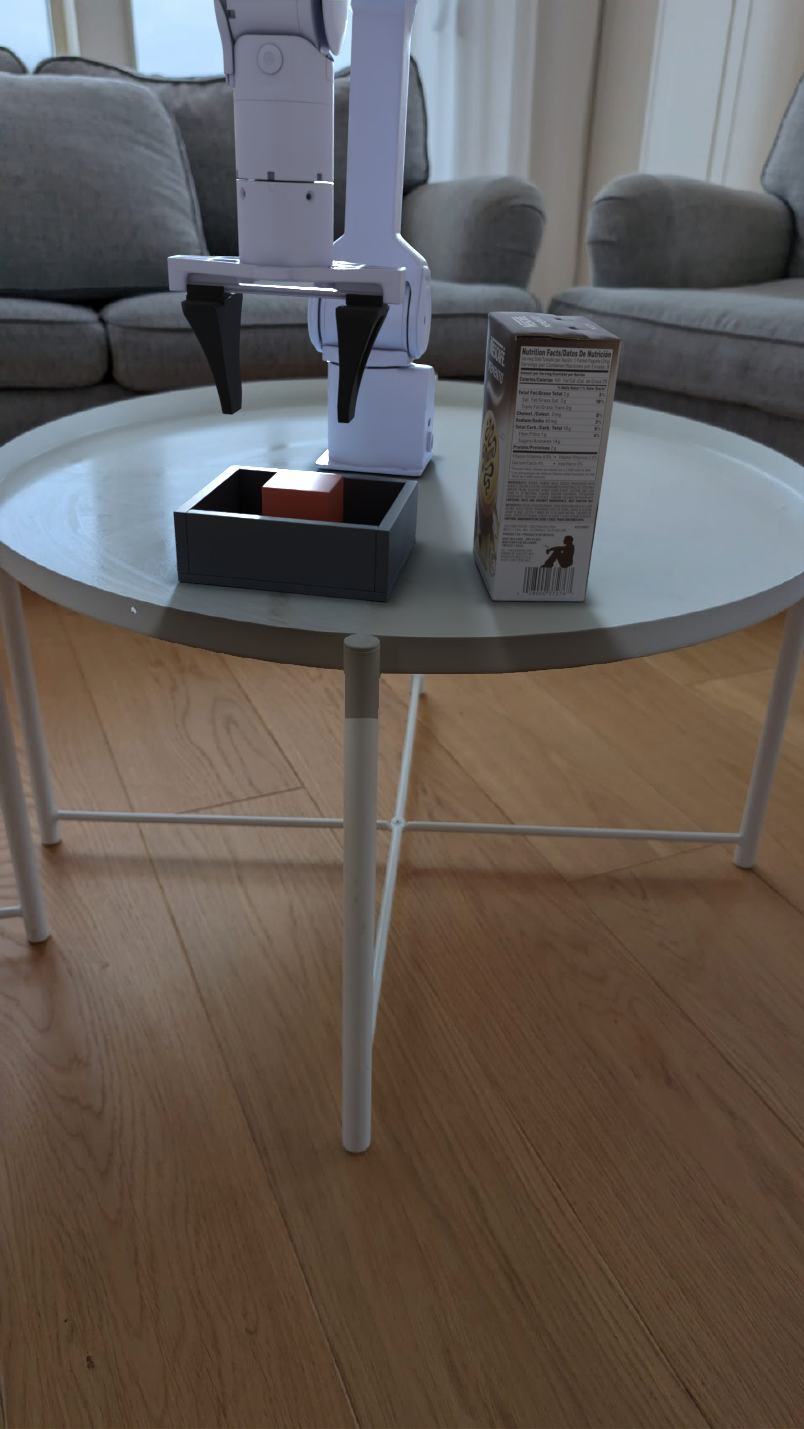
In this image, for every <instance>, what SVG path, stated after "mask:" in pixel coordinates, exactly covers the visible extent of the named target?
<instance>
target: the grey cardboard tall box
mask: <svg viewBox="0 0 804 1429" xmlns="http://www.w3.org/2000/svg"><path fill="white" fill-rule="evenodd" d="M487 317H488V318H487V319H488V321H487V322H488V323H487V334H486V335H487V337H486V350H485V351H486V352H485V364H484V380H483V394H482V410H481V425H480V437H479V438H480V442H479V452H478V453H479V455H478V469H477V481H476V482H477V483H476V496H475V497H476V499H475V509H474V510H475V511H474V525H473V539H472V540H473V541H472V555H473V558H474V561H475V562H476V565H477V567H478V569H479V572H480V575H481V577H482V580H483V581H484V584H485V586H486V589H487V592H488V593H489V597H490V598H491V600H492V601H499V602H500V601H502V602H505V601H506V602H512V601H513V602H584V601H586V597H587V593H588V592H587V590H588V583H589V577H590V576H589V575H590V568H591V561H592V554H593V546H594V540H595V533H596V526H597V519H598V512H599V507H600V506H599V505H600V498H601V492H602V484H603V477H604V470H605V463H606V456H607V449H608V441H609V437H610V436H609V435H610V430H611V421H612V414H613V407H614V399H615V391H616V384H617V378H618V370H619V363H620V355H621V349H622V341H623V340H622V338H621V337H618V336H617V335H615V334H613V333H611V332H610V331H609V330H607V329H605V328H604V327H601V326H600V325H598V324H597V323H595V322H594V321H591V320H590V319H589V318H586V317H585V316H584V315H555V314H552V313H540V312H527V311H490V312H488V314H487Z"/></svg>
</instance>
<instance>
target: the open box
mask: <svg viewBox="0 0 804 1429" xmlns="http://www.w3.org/2000/svg"><path fill="white" fill-rule="evenodd" d="M279 470H283V469H280V468H269V467H257V466H244V465H234V464H231V465H230V466H228V467H227V468H226V469H225V470H224V471H222V472H221V473H219V474H218V475H217V476H216V477H215V478H213V480H211V481H210V482H208V483H207V484H206V485H205V486H204V487H202V488H201V489H199V491H197V492H196V493H195V494H194V495H192V496H191V497H190V498H189V499H187V500H186V501H184V502H183V503H182V504H181V505H180V506H179V507H177V508H176V509H174V511H173V512H172V513H173V527H174V540H175V542H174V543H175V556H176V557H175V558H176V570H177V581H178V582H180V583H181V582H182V583H191V584H193V583H194V584H202V585H211V586H222V587H232V588H242V589H250V590H251V589H253V590H261V591H262V590H263V591H273V592H282V593H291V594H303V595H315V596H323V597H332V598H343V599H351V600H352V599H353V600H362V601H363V600H364V601H374V602H385V603H387V602H388V601H389V599H390V596H391V594H392V593H393V590H394V588H395V586H396V584H397V582H398V580H399V578H400V576H401V574H402V572H403V570H404V568H405V566H406V564H407V562H408V560H409V558H410V556H411V554H412V551H413V550H414V548H415V546H416V543H417V525H418V524H417V522H418V501H419V480H413V479H408V480H407V479H402V478H390V477H388V478H386V477H376V476H365V475H355V474H354V475H353V474H343V473H342V474H341V473H337V474H338V475H343V523H336V522H325V521H314V520H303V519H292V518H280V517H269V516H263V515H262V486H263V485H265V484H266V483H267V482H268V481H269V480H270V479H271V478H272V477H273V476H274V475H275V474H276V473H277V472H278V471H279ZM289 470H290V471H295V470H294V469H289ZM301 471H302V472H307V471H305V470H301ZM313 472H314V473H319V472H317V471H313ZM325 473H326V474H331V472H330V473H329V472H325Z"/></svg>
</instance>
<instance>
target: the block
mask: <svg viewBox="0 0 804 1429" xmlns="http://www.w3.org/2000/svg"><path fill="white" fill-rule="evenodd" d="M290 470H291V469H282V470H279V471H278V472H277V473H276V474H275V475H274V476H273V477H272V478H271V479H270V480H269V481H268V482H267V483H266V484H265V485H263V486H262V515H263V516H269V517H280V518H292V519H303V520H314V521H325V522H336V523H343V475H344V474H342V475H338V474H339V473H330V474H326V473H327V472H318V473H314V472H315V471H306V472H302V471H303V470H294V471H290Z"/></svg>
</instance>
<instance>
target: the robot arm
mask: <svg viewBox="0 0 804 1429" xmlns="http://www.w3.org/2000/svg"><path fill="white" fill-rule="evenodd" d="M418 4H419V0H213V7H214V14H215V20H216V25H217V29H218V33H219V37H220V42H221V47H222V48H221V49H222V60H223V61H222V62H223V74H224V76H225V84H226V86H227V87H231V88H232V95H233V124H234V151H235V152H234V153H235V178H236V206H237V207H236V209H237V233H238V234H237V236H238V237H237V238H238V239H237V241H238V256H219V255H218V256H217V255H216V256H215V255H213V256H212V255H211V256H210V255H187V254H186V255H184V254H178V255H173V256H168V257H167V273H168V288H169V291H171V292H186V294H185V299H184V300H182V301H180V305H181V306H180V307H181V311H182V314H183V317H184V318H185V320H186V321H187V323H188V324H189V326H190V328H191V329H192V331H193V333H194V335H195V337H196V339H197V341H198V343H199V345H200V347H201V350H202V352H203V354H204V356H205V359H206V362H207V365H208V367H209V368H210V372H211V375H212V379H213V381H214V384H215V385H214V386H215V388H216V391H217V395H218V399H219V404H220V407H221V408H220V409H221V414H222V415H231V416H233V415H234V414H236V413H237V412H239V411H240V410H242V408H243V407H242V406H243V384H242V370H241V358H240V357H241V354H240V353H241V352H240V348H241V327H242V326H241V324H242V312H243V311H242V310H243V300H244V295H259V296H260V295H261V296H278V297H292V298H293V297H296V298H308V300H307V330H308V336H309V340H310V342H311V344H312V345H313V346H314V348H315V350H316V351H317V352H318V353H322V361H323V362H327V450H325V452H324V453H323V454H322V455H321V456H320V457H319V458H318V459H317V460H316V461H315V462H314V467H315V468H317V469H323V470H324V469H325V470H336V471H348V472H360V473H371V474H385V475H386V474H387V475H395V476H396V475H397V476H407V477H409V476H410V477H421V475H422V474H423V473H424V471H425V470H426V468H427V466H428V464H429V462H430V460H431V459H432V457H433V453H434V452H433V447H434V419H435V418H434V416H435V401H436V400H435V398H436V373H435V369H434V367H433V366H431V365H427V364H417V363H414V362H413V361H414V360H418V359H420V358H421V357H422V355H424V354H425V352H426V351H427V349H428V345H429V341H430V334H431V324H432V323H431V322H432V293H431V277H432V276H431V275H432V274H431V270H430V268H429V265H428V262H427V260H426V258H424V256H422V255H421V254H420V253H419V252H418V251H417V250H416V249H414V247H412V246H411V244H409V243H408V242H407V241H406V240H405V239H404V238H403V237H402V235H401V226H402V225H401V224H402V208H403V206H402V205H403V191H404V190H403V188H404V171H405V170H404V169H405V167H404V166H405V153H406V152H405V151H406V134H407V133H406V132H407V131H406V130H407V114H408V95H409V77H410V76H409V75H410V74H409V73H410V58H411V39H412V31H413V26H414V22H415V18H416V13H417V12H416V11H417V7H418ZM349 11H350V12H351V15H352V16H351V40H350V43H351V44H350V67H349V68H350V72H349V97H348V99H349V100H348V101H349V102H348V124H347V126H348V128H347V130H348V131H347V155H346V179H345V180H346V182H345V183H346V184H345V185H346V186H345V208H344V209H345V211H344V212H345V213H344V232H343V234H342V235H340V237H339V238H337V239H336V240H335V241H334V195H335V194H334V190H335V189H334V180H335V178H334V177H335V176H334V174H335V172H334V170H335V164H334V163H335V162H334V160H335V151H334V150H335V59H334V57H333V56H335V57H337V56H339V55H341V54H342V53H343V50H344V48H345V40H346V36H347V26H348V16H349ZM332 55H333V56H332ZM260 281H266V282H281V283H283V282H284V283H285V282H286V283H311V286H310V287H302V286H301V287H300V286H286V285H285V286H284V285H267V284H266V285H265V284H255V282H260Z"/></svg>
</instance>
